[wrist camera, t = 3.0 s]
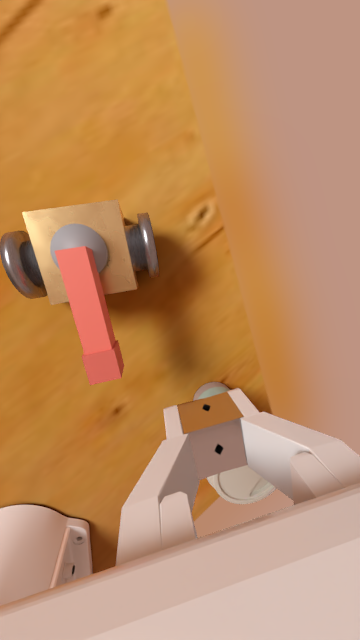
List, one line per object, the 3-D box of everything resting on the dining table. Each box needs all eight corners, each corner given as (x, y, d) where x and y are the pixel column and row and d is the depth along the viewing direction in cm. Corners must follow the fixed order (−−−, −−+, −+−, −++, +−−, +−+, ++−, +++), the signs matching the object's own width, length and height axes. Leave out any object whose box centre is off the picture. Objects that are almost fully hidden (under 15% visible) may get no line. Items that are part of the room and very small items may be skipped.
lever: (49, 230, 19) (27, 220, 15) (101, 223, 19) (91, 211, 16) (89, 369, 22) (79, 387, 18) (133, 359, 22) (131, 375, 19)
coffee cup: (197, 435, 32) (226, 523, 21) (174, 389, 30) (192, 459, 19) (247, 409, 33) (303, 482, 21) (228, 362, 31) (279, 414, 19)
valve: (158, 282, 27) (162, 284, 21) (50, 302, 26) (19, 311, 19) (145, 214, 25) (145, 193, 19) (27, 231, 24) (-15, 215, 17)
